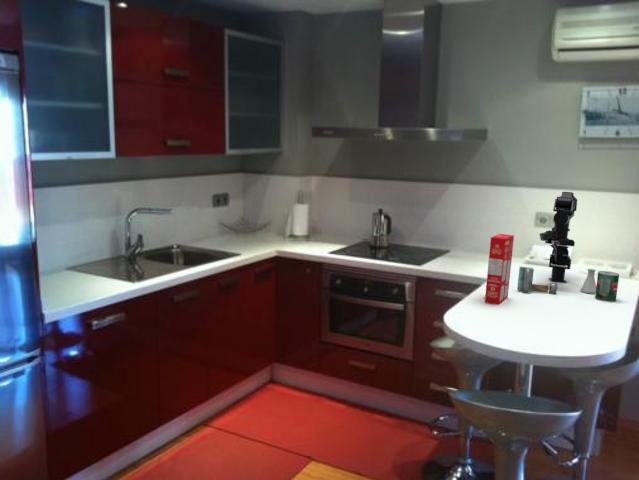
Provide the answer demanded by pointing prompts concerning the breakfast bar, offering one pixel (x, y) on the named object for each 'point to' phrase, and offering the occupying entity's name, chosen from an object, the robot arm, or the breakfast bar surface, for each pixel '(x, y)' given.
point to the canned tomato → (607, 286)
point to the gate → (532, 286)
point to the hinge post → (552, 288)
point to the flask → (589, 283)
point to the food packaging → (499, 268)
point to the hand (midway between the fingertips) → (557, 261)
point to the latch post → (526, 281)
